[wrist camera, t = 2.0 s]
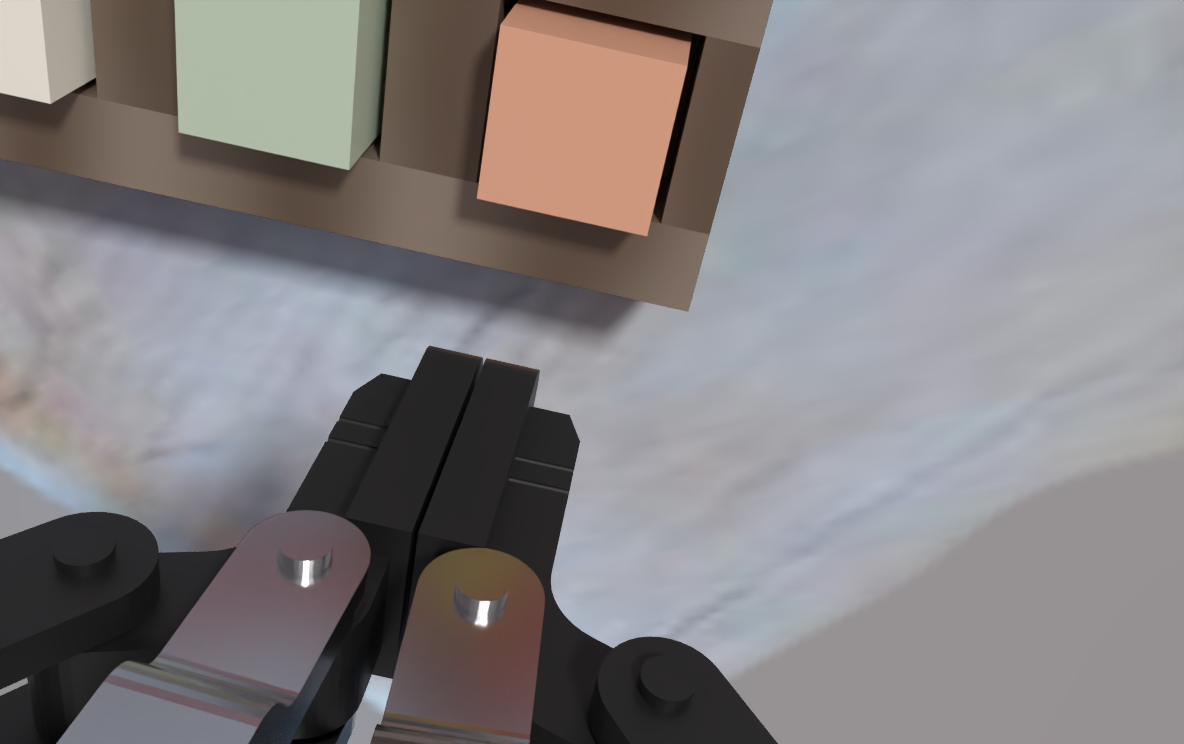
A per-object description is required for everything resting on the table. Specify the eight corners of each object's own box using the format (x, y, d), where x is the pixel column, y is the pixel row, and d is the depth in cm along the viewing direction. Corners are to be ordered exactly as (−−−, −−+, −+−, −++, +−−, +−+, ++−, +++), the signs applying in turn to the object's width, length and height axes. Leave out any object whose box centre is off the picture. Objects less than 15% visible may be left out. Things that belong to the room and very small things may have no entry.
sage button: (230, 92, 27) (178, 132, 24) (230, -74, 25) (173, -49, 22) (385, 126, 27) (349, 170, 24) (398, -37, 25) (360, -7, 22)
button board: (-25, 84, 30) (-120, 132, 27) (-75, -280, 25) (-199, -277, 22) (693, 243, 30) (688, 311, 27) (781, -89, 25) (788, -57, 22)
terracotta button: (501, 151, 27) (476, 198, 24) (524, -9, 25) (500, 24, 22) (655, 186, 27) (647, 236, 24) (692, 29, 25) (687, 66, 22)
